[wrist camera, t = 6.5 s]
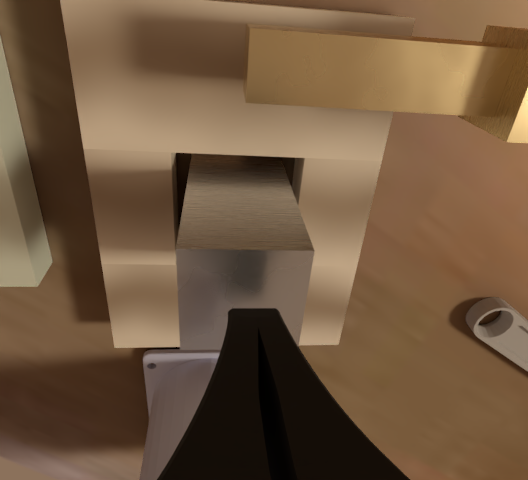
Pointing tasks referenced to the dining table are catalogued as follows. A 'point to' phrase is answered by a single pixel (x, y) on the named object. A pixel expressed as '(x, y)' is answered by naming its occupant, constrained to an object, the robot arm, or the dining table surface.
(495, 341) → the adjustable wrench
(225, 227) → the peg
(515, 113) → the tan headed bar
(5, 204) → the cream square hole plate
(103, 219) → the socket block
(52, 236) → the dining table surface
